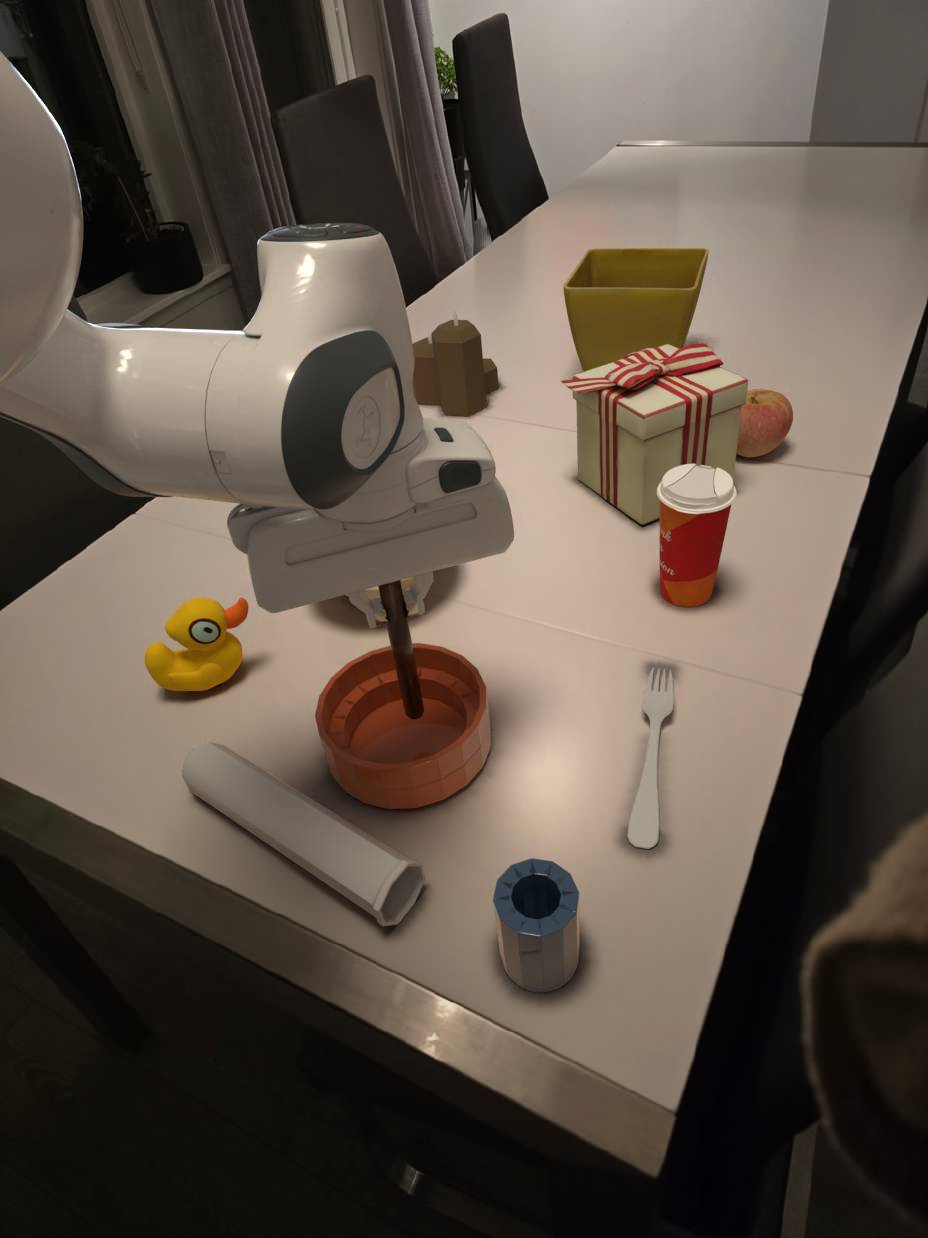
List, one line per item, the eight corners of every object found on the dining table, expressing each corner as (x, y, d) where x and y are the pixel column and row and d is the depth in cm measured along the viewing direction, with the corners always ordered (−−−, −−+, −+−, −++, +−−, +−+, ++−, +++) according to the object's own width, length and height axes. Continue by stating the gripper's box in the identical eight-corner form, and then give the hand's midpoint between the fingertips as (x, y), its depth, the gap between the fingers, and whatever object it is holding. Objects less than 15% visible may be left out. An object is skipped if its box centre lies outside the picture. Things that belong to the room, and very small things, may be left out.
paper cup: (662, 563, 93) (671, 455, 83) (730, 578, 89) (747, 468, 80) (639, 604, 88) (646, 493, 78) (710, 621, 84) (726, 508, 75)
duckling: (263, 646, 88) (238, 574, 82) (272, 677, 84) (247, 603, 78) (158, 680, 86) (124, 608, 79) (163, 713, 82) (127, 640, 75)
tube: (158, 773, 70) (369, 917, 58) (197, 722, 72) (410, 852, 60) (191, 795, 75) (395, 935, 62) (228, 747, 76) (433, 873, 64)
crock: (517, 1004, 56) (510, 947, 51) (491, 933, 60) (483, 874, 55) (591, 977, 57) (592, 919, 52) (560, 909, 61) (558, 848, 56)
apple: (796, 445, 109) (807, 390, 104) (764, 473, 105) (774, 417, 100) (738, 429, 114) (745, 375, 109) (704, 455, 110) (711, 400, 105)
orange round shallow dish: (346, 835, 68) (331, 791, 64) (317, 712, 80) (304, 669, 76) (514, 782, 71) (510, 737, 67) (463, 670, 82) (457, 626, 78)
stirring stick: (408, 726, 73) (377, 577, 62) (403, 712, 74) (372, 564, 63) (427, 720, 73) (400, 571, 62) (422, 706, 74) (394, 558, 63)
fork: (623, 859, 67) (623, 843, 65) (647, 667, 80) (648, 649, 78) (658, 865, 66) (659, 849, 64) (676, 670, 79) (678, 652, 77)
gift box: (642, 436, 115) (649, 316, 104) (741, 487, 103) (760, 357, 92) (547, 477, 109) (543, 354, 98) (639, 537, 97) (647, 404, 86)
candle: (511, 407, 126) (505, 311, 117) (426, 424, 125) (413, 328, 115) (489, 374, 137) (482, 283, 127) (411, 389, 135) (398, 298, 125)
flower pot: (588, 347, 141) (588, 246, 130) (699, 351, 136) (709, 246, 125) (563, 395, 128) (561, 287, 117) (686, 402, 122) (696, 289, 111)
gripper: (222, 527, 53) (275, 677, 62) (516, 455, 56) (525, 607, 65) (216, 481, 57) (265, 627, 66) (487, 417, 61) (499, 564, 70)
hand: (396, 616), depth 66 cm, fingers closed on stirring stick, 2 cm apart
